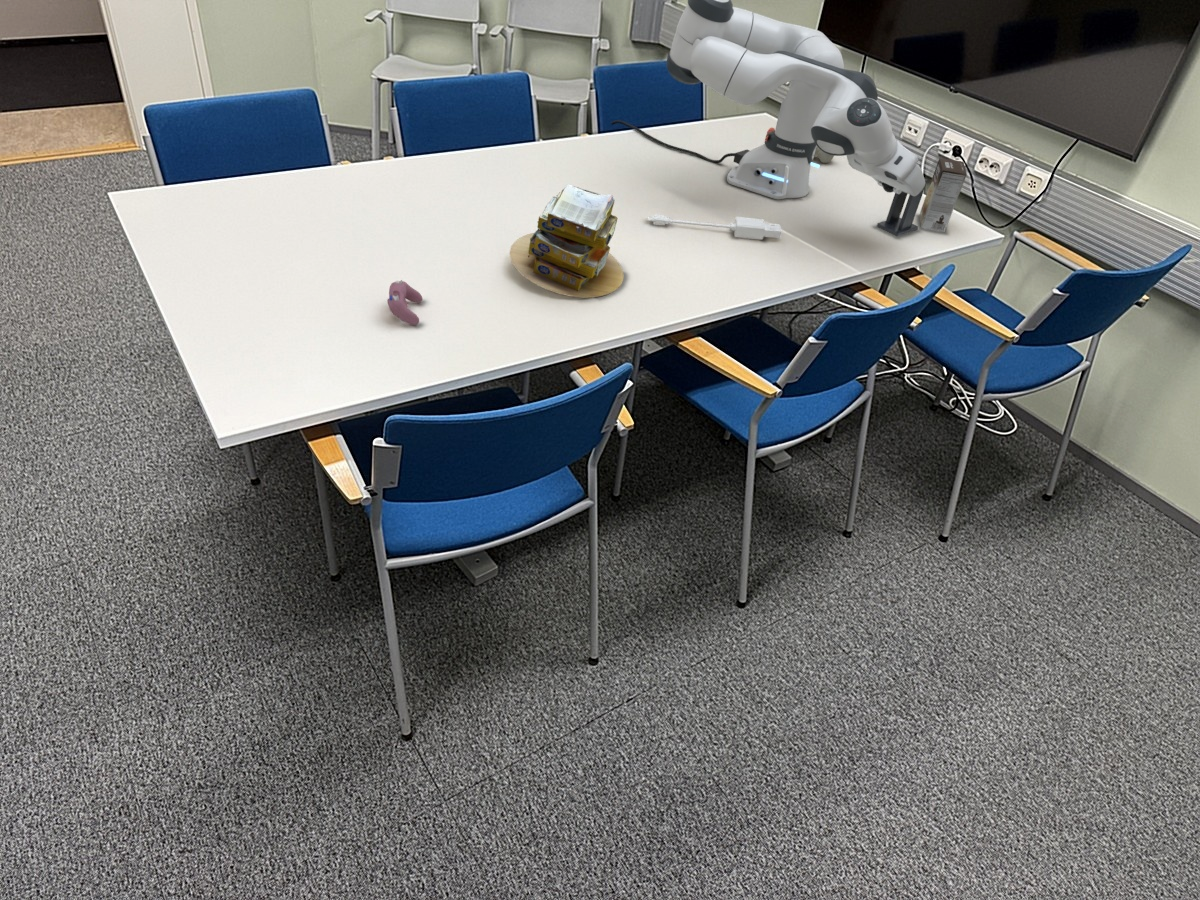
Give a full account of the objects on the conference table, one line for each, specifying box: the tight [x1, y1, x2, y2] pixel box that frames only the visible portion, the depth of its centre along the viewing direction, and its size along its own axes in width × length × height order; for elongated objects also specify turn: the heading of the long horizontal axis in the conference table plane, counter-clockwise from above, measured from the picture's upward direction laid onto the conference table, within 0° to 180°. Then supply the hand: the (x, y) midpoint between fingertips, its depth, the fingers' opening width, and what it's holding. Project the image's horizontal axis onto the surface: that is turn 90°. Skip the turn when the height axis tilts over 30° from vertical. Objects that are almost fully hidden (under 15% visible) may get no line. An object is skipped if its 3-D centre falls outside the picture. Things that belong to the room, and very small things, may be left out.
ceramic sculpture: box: [813, 145, 835, 164], centre depth 260 cm, size 11×9×15 cm
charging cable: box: [646, 214, 783, 241], centre depth 213 cm, size 5×32×3 cm, turn 86°
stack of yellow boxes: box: [509, 183, 625, 298], centre depth 184 cm, size 25×25×17 cm
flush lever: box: [882, 183, 894, 193], centre depth 216 cm, size 13×3×3 cm, turn 130°
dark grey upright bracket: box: [876, 177, 928, 237], centre depth 222 cm, size 9×6×14 cm
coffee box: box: [918, 157, 968, 233], centre depth 226 cm, size 9×6×16 cm
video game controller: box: [387, 279, 423, 326], centre depth 168 cm, size 10×5×7 cm, turn 5°
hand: (891, 187), depth 214 cm, fingers closed on flush lever, 3 cm apart
